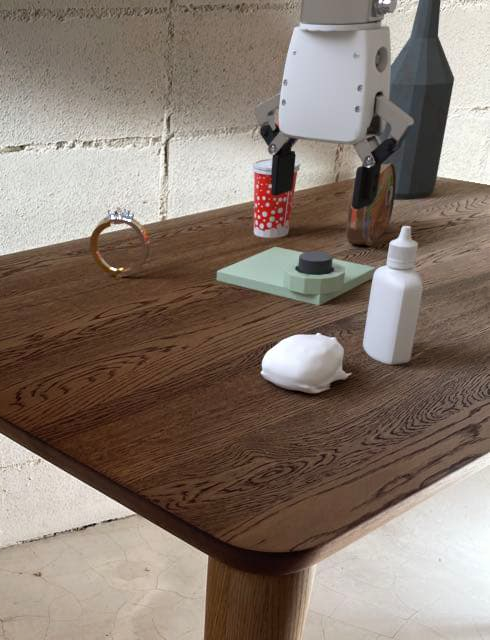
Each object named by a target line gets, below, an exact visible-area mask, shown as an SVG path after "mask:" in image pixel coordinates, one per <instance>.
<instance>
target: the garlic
mask: <svg viewBox="0 0 490 640" xmlns="http://www.w3.org/2000/svg"><path fill="white" fill-rule="evenodd" d="M337 339H338V338H337V337H335V336H333V337H332V336H331V337H330V336H328V335H323V334H322V333H320V332H317V333H316V334H304V333H303V334H294V335H292V336H289V337H286V338H284V339H282V340H280V341H278V343H276V344H275V345H274V346H273V347H272V348H269V350H267V352H266V353H265V355H264V356H263V358H262V361H261V369H262V370H261V371H260V375H261V376H262V377H263V379H265V380H267V381H268V382H270V383H272V384H274V385H275V386H277V387H279V388H282V389H285V390H289V391H298V392H302V393H303V392H304V393H307V394H319V393H322V392H324V391H326V390H329V389H331V387H330V386H331V383H333V382H335V381H339V380H340V381H341V380H347V379H348V377H349V376H351V375H353V373H352V372H348V373H346V372H345V370H343V362H344V361H343V360H344V355H345V349H344V347H343V345H341V343H340V342H339V341H338V340H337Z"/></svg>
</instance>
